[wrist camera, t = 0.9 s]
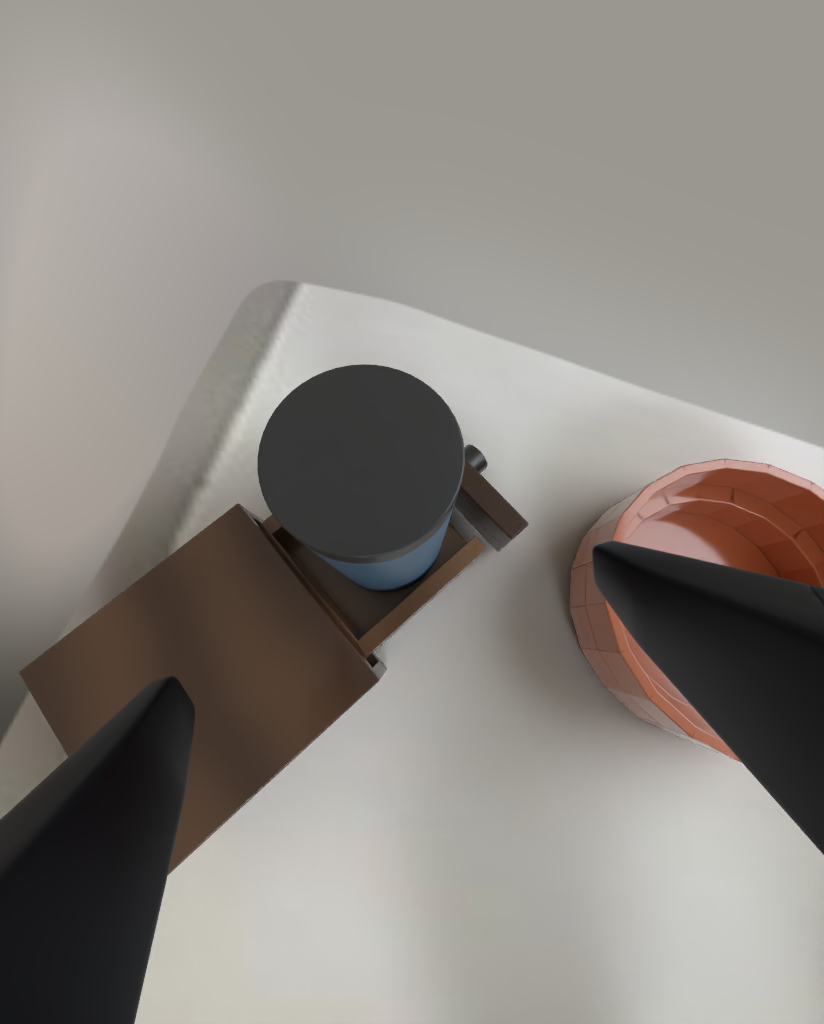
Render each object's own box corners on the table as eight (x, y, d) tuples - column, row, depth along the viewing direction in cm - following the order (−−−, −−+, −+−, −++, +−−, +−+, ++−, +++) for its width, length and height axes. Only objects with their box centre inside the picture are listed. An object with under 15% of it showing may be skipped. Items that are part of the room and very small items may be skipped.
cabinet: (272, 527, 24) (237, 502, 20) (387, 668, 22) (380, 679, 18) (102, 663, 23) (17, 672, 18) (210, 831, 20) (147, 894, 16)
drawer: (421, 414, 25) (422, 383, 22) (528, 524, 24) (547, 507, 20) (265, 538, 23) (241, 524, 20) (369, 669, 22) (362, 676, 18)
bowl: (853, 602, 23) (969, 595, 18) (721, 798, 21) (815, 849, 16) (656, 450, 26) (712, 408, 21) (517, 609, 23) (544, 604, 18)
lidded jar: (463, 535, 22) (508, 450, 12) (386, 616, 21) (359, 604, 11) (385, 464, 24) (362, 329, 13) (308, 538, 22) (213, 457, 12)
